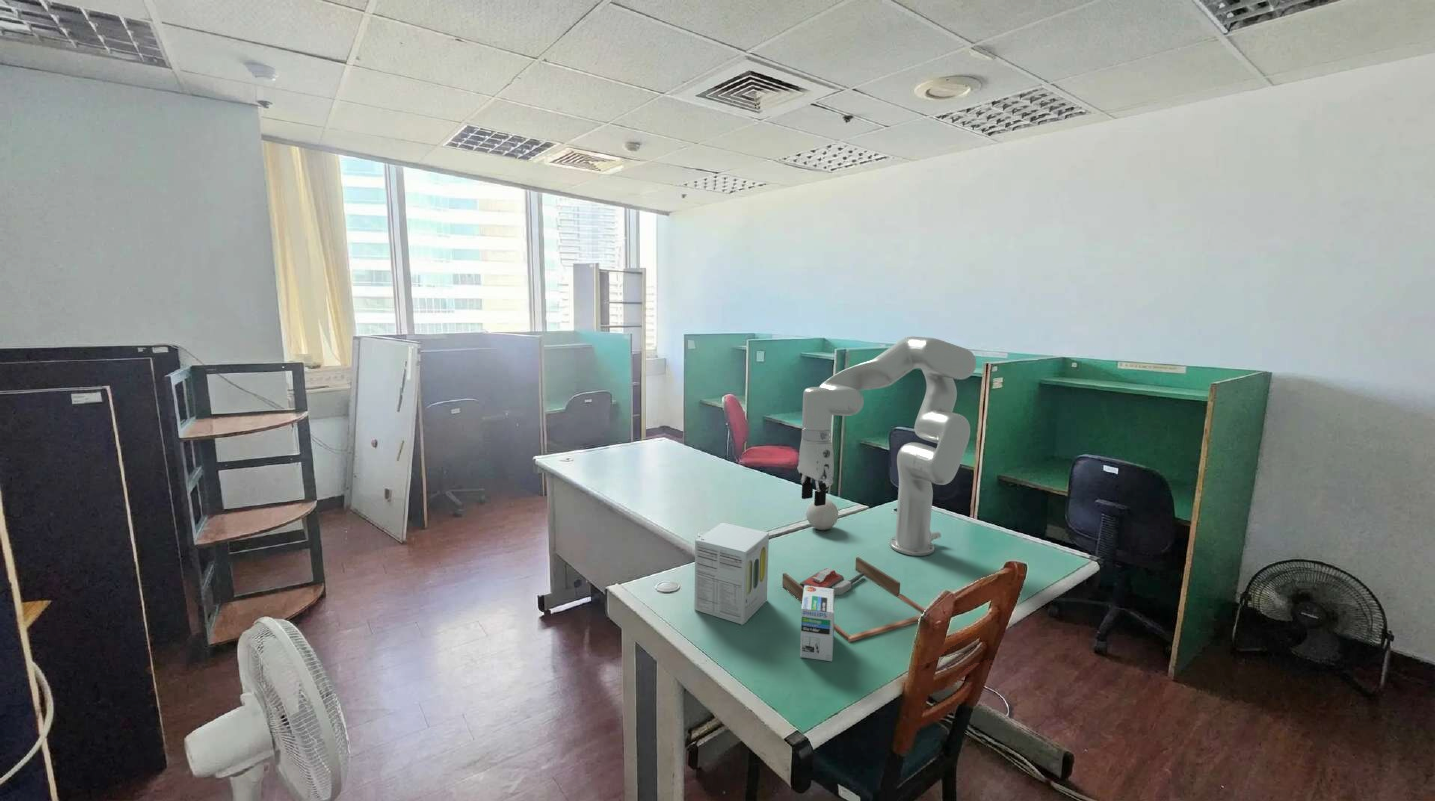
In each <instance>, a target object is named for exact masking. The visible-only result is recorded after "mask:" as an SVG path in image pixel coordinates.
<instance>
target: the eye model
mask: <svg viewBox="0 0 1435 801" xmlns="http://www.w3.org/2000/svg"><path fill="white" fill-rule="evenodd" d="M805 517H806V519H807V522H808V523H809V524H810V526H811V527H813V528H815V529H816V530H821V531H826V530H829V529H831V528H832V527H834V526H835V524H836V523H838V522H837V521H838V519H839V510H838V507H837V506H836V504H835V503H834V502H833V501H832V500H830V499H829V498H826V503H825V505H821V506H815V505H814V499H813V500H811V502H810V503H809V504H808V506H807V507H806V510H805Z"/></svg>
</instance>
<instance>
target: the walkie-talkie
mask: <svg viewBox="0 0 1435 801" xmlns="http://www.w3.org/2000/svg"><path fill="white" fill-rule="evenodd" d="M862 577H865V576H864V573H860V572H859V573H858V574H857V575H856V576H854V577H852V578H851V579H849V580H846V579H845V578H844V576H843V575H842V574H840V573H838V572H836V570H834V569H831V568H828V567H827V568H824V569H821V570H819V571H818V572H816V573H815V574H813V575H812V576H810V577H808V578H806V579H804V580H803V581H801V582H800V583H799V584H800V585H801V586H803V587H804V586H805V585H806V586H814V587H822V588H830V589H834V590H835V591H834V596H835V595H843V594H845V593H847V591H850V590H852V585H853V584H854V583H856V582H857V581H859V580H860V579H861V578H862Z"/></svg>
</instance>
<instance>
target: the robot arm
mask: <svg viewBox="0 0 1435 801" xmlns="http://www.w3.org/2000/svg"><path fill="white" fill-rule="evenodd" d="M976 358H977V357H976V356H975V355H974V353H973V352H972V351H971V350H970V349H968V348H965V347H962V346H959V345H955V344H953V343H950V342H947V341H945V340H941V339H938V338H933V337H925V336H924V337H923V336H907V337H904V338H902V339H900V340H899V341H898V342H897V343H894V344H893V345H892V346H890V347H889V348H887V349H886V350H884V351H883V352H882V353H880V354H879V355H877V356H876V357H874V358H873V359H871V360H867V361H864V362H861V363H859V364H856V365H853V366H851V367H847V368H845V369H843V370H841V371H838V372H837V373H835V374H833V375H832V376H831V377H829V378H828V379H826V380H825V381H824V382H822V383H821V384H820V385H819V386H811V387H807V388H805V389H804V390H803V396H802V416H801V418H802V419H801V420H802V421H801V441H800V446H799V450H798V451H799V452H798V453H799V454H798V465H797V467H796V468H797V471H798V473H799V477H800V483H801V499H802V500H807V499H812V498H813V496H814V499H813V500H814V505H815V506H821V505H825V503H826V499H827V491H829V490H828V489H829V488H830V486H832V485H833V484H834V480H833V478H834V472H835V471H834V470H835V468H834V465H835V463H834V462H835V461H834V460H835V459H834V449H833V442H832V440H831V439H832V419H833V418H832V417H833V416H842V417H843V416H844V417H847V416H848V417H849V416H853V415H857V414H858V413H859V412H860V411H861V410H862V409H863V407H864V405H865V404H864V403H865V402H864V397H863V396H864V395H863V394H862V393H861V392H862V391H866V390H876V389H882V388H886V387H890V386H891V385H893V384H894V383H896V382H897V381H898V380H900V379H902V378H903V377H905V376H906V375H907V374H909V373H910V372H912V371H913V370H915V369H921V372H922V373H923V375H924V378H925V383H926V389H925V395H924V398H923V400H922V404H921V406H920V409H919V411H918V413H917V417H916V419H915V421H914V422H915V423H914V428H913V430H914V433H915V435H916V436H917V437H919V438H920V439H922V440H925V441H928V442H931V443H934V444H937V446H936V447H933V446H932V445H928V444H925V443H920V442H907V443H905V444H904V445H902V446H901V447H900V449H898V452H897V456H896V466H897V472H898V491H897V492H898V494H897V506H896V507H897V510H896V525H895V536H894V537H891V538H890V539H889V546H890V548H891V549H892V550H894V551H895V552H898V553H901V554H904V555H907V556H917V557H922V556H923V557H924V556H928V555H931V554H933V553H934V551H935V545H934V543H933V542H932V541H934V540H937V539H940V538H941V537H942V535H941V532H940V531H934V532H932V531H931V524H932V523H931V522H932V521H931V520H932V507H933V499H934V498H933V497H934V496H933V495H934V492H933V490H934V489H933V484H935V485H939V486H940V485H941V486H942V485H943V486H944V485H945V486H946V485H947V484H949V483H951V482H952V481H953V480H954V478H955V476H956V474H957V473H958V470H959V468H960V465H961V462H962V460H963V457H964V454H965V452H966V449H967V446H968V444H969V441H970V438H971V437H970V436H971V425H970V423H969V420H968V419H967V418H966V417H965V416H964V415H962V414H959V413H955V412H953V411H954V408H955V405H956V402H957V398H958V397H957V395H958V392H957V391H958V390H957V387H956V383H955V380H967V379H968V378H969V377H971V376H972V375H973V374H974V372H975V370H976V368H977V359H976ZM860 391H861V392H860ZM813 480H815V481H814V482H815V488H816V489H815V491H814V483H813ZM821 482H822V483H821ZM813 491H814V492H813ZM813 493H814V494H813Z"/></svg>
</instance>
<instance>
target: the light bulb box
mask: <svg viewBox="0 0 1435 801" xmlns="http://www.w3.org/2000/svg"><path fill="white" fill-rule="evenodd" d="M834 591H835V590H834V589H830V588H822V587H814V586H806V585H805V586H804V591H803V599H802V602H801V607H800V608H801V610H800V611H801V617H800V640H799V642H800V644H799V645H800V646H799V657H800V658H806V659H812V660H818V661H825V662H826V661H827V662H833V653H834V652H833V651H834V639H835V638H834V637H835V633H834V632H835V630H834V623H835V595H834Z"/></svg>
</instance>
